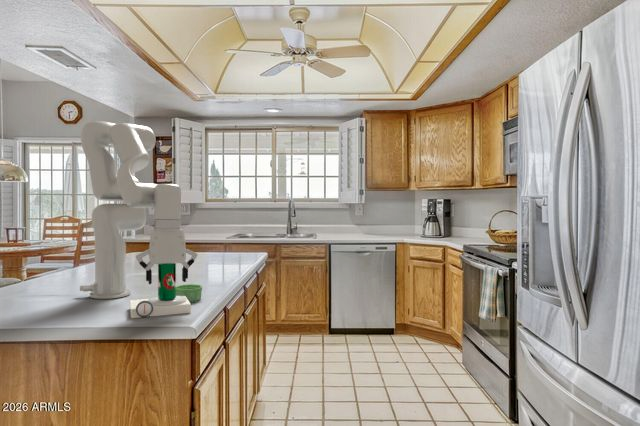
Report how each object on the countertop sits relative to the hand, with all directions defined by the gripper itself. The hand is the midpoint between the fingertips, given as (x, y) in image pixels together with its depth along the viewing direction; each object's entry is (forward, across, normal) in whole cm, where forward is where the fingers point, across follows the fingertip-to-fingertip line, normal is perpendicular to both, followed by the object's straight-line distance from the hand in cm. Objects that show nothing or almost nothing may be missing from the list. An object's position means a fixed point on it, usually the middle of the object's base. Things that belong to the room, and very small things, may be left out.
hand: (167, 282), depth 125 cm
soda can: (+5, 0, 0) cm, 5 cm away
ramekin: (+9, +8, +12) cm, 17 cm away
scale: (+8, -2, 0) cm, 9 cm away
